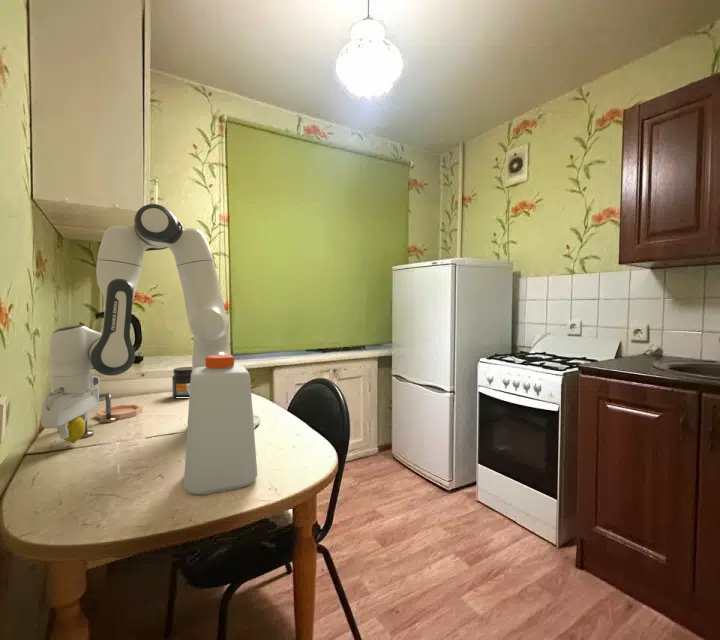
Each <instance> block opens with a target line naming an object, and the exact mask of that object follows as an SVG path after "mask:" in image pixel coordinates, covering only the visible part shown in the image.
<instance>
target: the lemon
mask: <svg viewBox="0 0 720 640" xmlns="http://www.w3.org/2000/svg"><path fill="white" fill-rule="evenodd" d="M67 428H68V431H69V430H70V432H71V433H70V434H71V436H70V437H68V438H67V439H63V440H64V441H66V442H70V443H71V444H74V443H76V442H77V441H79V440H80V439H82V438H81V437H82V436H83V435H84V433H85V423H84V420H83V419H82V418H81V417H77V418H75V419H73V420H71V421H69V422H68V426H67Z"/></svg>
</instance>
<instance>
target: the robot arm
mask: <svg viewBox="0 0 720 640" xmlns="http://www.w3.org/2000/svg"><path fill="white" fill-rule="evenodd" d="M133 222H134V223H133V225H131V226H125V225H114V226H110V227H108V228H107V229H106V230H105V231H104V234H103V235H102V236H103V237H102V238H101V242H100V245H99V248H98V253H97V259H96V271H95V272H96V282H97V286H98V288H99V290H100V292H101V294H102V297H103V300H104V312H103V313H104V314H103V322H102V332H99V331H96V330H93V329H91V328H89V327H87V326H86V325H84V324H76V325H70V326H64V327H61V328H57V329H56V330H55V331H53V332H52V333H51V334H50V340H49V354H48V355H49V356H48V357H49V362H50V364H51V365H50V366H51V370H50V375H49V376H50V378H49V379H50V391H49V392H48V394H47V396H46V397H45V399H44V400H43V402H42V407H41V416H40V417H41V419H40V420H41V421H40V423H41V427H43V428H44V429H55V428H56V430H57V431H58V432H59V438H60V439H61V440H64V439H67V438H68V437H70V436H71V434H70V433H71V432H70V430H69V431H68V428H67V426H68V422H69V421H71V420H73V419H75V418H77V417H81V418H82V419H83V420H84V423H85V421H86V418H87V419H88V413H89V412H91V411H93V410H94V409H96V408H97V407H98V405H99V402H100V401H99V400H100V398H99V394H100V389H99V385H100V382H101V381H100V377H99V376H96V375H92V374H91V372H92V371H91V370H92V369H94V370H95V371H97V372H98V373H99V374H102V375H105V376H110V377H111V376H112V377H113V376H118V375H122V374H123V373H125V372H127V371H128V370H129V369H130V368H132V366H133V365H134V362H135V361H136V360H135V359H136V352H135V349H134V345H133V343H132V340H131V335H130V334H131V324H132V323H131V322H132V312H133V302H134V299H135V296H136V292H137V289H138V285H139V283H140V279H141V278H140V277H141V273H142V266H143V258H144V254H145V252H150V251H160V250H161V251H162V250H166V249H169V250H170V251H171V253H172V255H173V258H174V260H175V265H176V268H177V273H178V277H179V280H180V284H181V287H182V293H183V299H184V306H185V311H186V316H187V321H188V326H189V329H190V332H191V333H192V335H193V347H192V357H191V367H192V371H193V370H194V369H195V368H198V367H206V357H208V356H212V355H230V319H229V318H230V317H229V316H228V314H227V312H226V309H225V305H224V299H223V295H222V290H221V286H220V282H219V281H220V280H219V277H218V273H217V269H216V264H215V261H214V258H213V253H212V251H211V247H210V245H209V242H208V241H207V238H206V236H205V234H204V233H203V232H202V231H201V230H199V229H196V228H194V227H193V228H191V227H185V228H184V226H183V224H182V222H181V221H180V220H179V219H177V217H176V216H175V215H174V214H173V213H172V212H171V210H169V209H168V208H166V207H164V206H163V205H160V204H155V203H149V204H146V205H145V204H144V205H143V206H142V207H140V208H139V209H138V210H137V211H136V213H135V215H134V220H133ZM259 422H260V423H261V417H260V416H259V415H257V414H254V413H253V423H254V427H256V426H257V425H258V424H259ZM259 425H260V424H259ZM259 425H258V426H259ZM258 426H257V427H258ZM257 427H256V428H257Z"/></svg>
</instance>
